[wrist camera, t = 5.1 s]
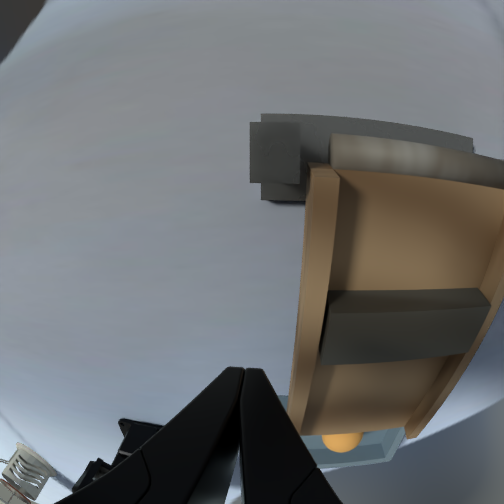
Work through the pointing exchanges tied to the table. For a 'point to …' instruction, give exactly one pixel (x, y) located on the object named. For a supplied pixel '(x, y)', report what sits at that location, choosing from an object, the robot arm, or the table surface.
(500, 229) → the tray
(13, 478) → the french press
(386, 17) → the table surface
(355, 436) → the ball
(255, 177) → the hinge stand
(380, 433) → the bin
